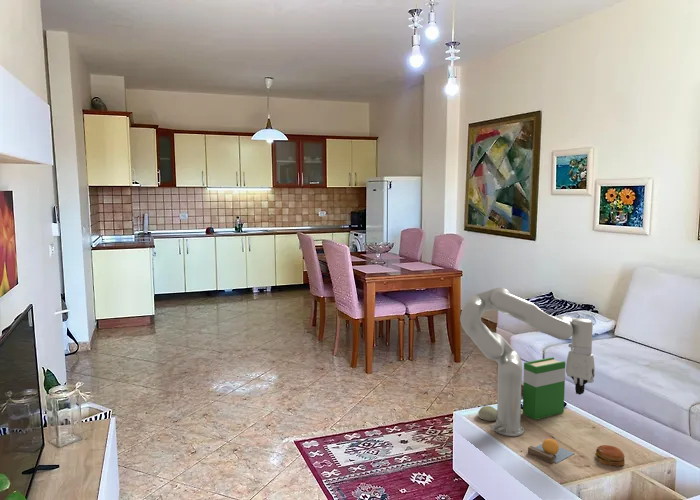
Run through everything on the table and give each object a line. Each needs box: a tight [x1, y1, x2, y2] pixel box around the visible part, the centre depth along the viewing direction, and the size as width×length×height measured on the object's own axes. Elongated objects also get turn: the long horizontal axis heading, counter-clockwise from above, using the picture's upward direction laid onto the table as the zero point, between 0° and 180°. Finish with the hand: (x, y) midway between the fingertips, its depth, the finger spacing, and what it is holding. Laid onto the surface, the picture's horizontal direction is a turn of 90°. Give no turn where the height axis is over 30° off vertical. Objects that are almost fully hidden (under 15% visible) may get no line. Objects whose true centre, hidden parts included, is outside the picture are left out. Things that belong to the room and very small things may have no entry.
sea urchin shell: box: [477, 405, 497, 422], centre depth 230 cm, size 9×8×8 cm
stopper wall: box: [527, 445, 555, 465], centre depth 194 cm, size 2×10×2 cm, turn 36°
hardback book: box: [522, 356, 566, 421], centre depth 234 cm, size 18×7×24 cm, turn 115°
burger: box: [594, 444, 626, 467], centre depth 192 cm, size 10×9×5 cm
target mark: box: [534, 442, 575, 464], centre depth 199 cm, size 12×12×1 cm
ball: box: [541, 438, 560, 455], centre depth 197 cm, size 6×6×6 cm
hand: (579, 393), depth 208 cm, fingers closed
